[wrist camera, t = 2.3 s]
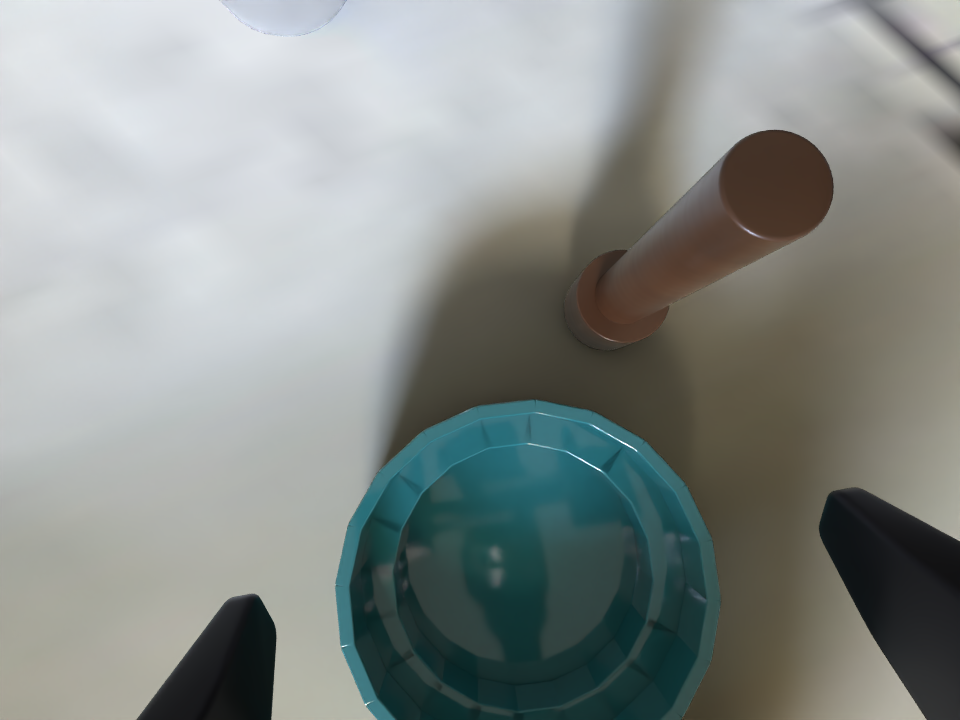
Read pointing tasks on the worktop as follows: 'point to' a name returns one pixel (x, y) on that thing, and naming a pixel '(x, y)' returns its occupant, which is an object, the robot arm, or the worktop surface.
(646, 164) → the worktop surface
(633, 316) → the post
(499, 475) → the bowl
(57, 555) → the worktop surface
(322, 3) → the plastic bottle
